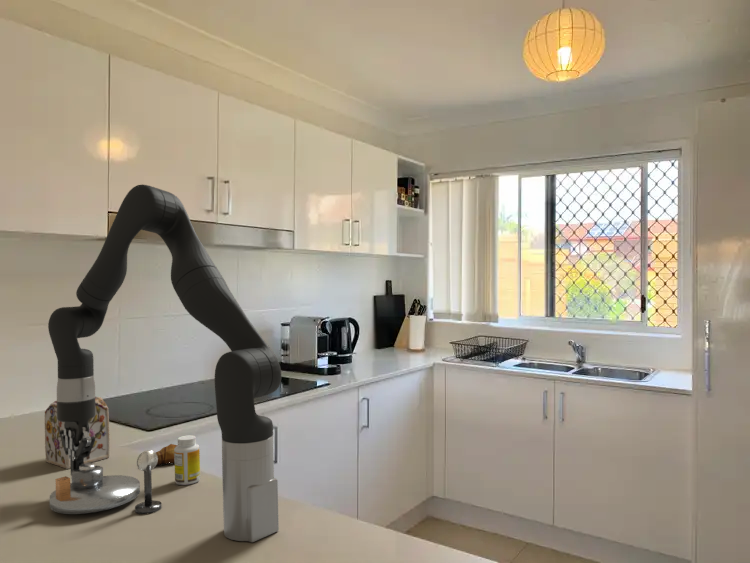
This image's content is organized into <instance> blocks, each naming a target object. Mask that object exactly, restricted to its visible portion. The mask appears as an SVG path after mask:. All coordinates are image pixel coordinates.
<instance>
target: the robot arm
mask: <svg viewBox="0 0 750 563" xmlns="http://www.w3.org/2000/svg"><path fill="white" fill-rule="evenodd" d="M141 231H146V232H150V233H154V234H156V235H158V236H159V237H160V238H161V239H162V240H163V242H164V243H165V245H166V247H167V249H168V250H169V253H170V255H171V257H172V258H171V259H172V260H171V268H170V281H171V284H172V287H173V290H174V292H175V294H176V295H177V297H178V299H179V301H180V302H181V303H182V304H181V305H182V306H183V307H184V309H185V310H186V311H187V313H189V315H190V316H191V317H192V318H194V319H195V320H196V321H197V322H199V323H200V324H202V325H203V326H204V327H206V329H208V330H209V331H211V332H212V333H214V334H215V335H216V336H218V337H219V338H220V339H221V340H222V341H223V342H224V343H225V344H226V345H227V347H228V348H229V350H230V351H228V352H225V353H223V354H222V355H221V356H219V359H218V360H217V362H216V366H215V370H214V392H215V393H214V394H215V403H216V404H215V406H216V418H217V423H218V426H219V428H220V431H221V432H220V433H221V461H222V462H221V464H222V466H221V467H222V468H221V469H222V470H221V471H222V475H221V476H222V507H223V508H222V510H223V511H222V512H223V515H222V516H223V535H224V536H225V537H226V538H227V539H229V540H232V541H237V542H238V541H239V542H249V543H254V542H256V541H260V540H262V539H263V538H265V537H268V536H270V535H272V534H274V533H276V532H279V529H280V528H279V527H280V526H279V494H278V493H279V490H278V489H279V487H278V486H279V485H278V484H279V483H278V482H279V481H278V479H277V478H276V477H275V467H274V464H275V463H274V462H275V461H274V459H275V457H274V424H273V421H272V419H271V418H270V417H267V416H264V415H259V414H258V413H257V411H256V407H255V406H256V405H255V399H257V398H262V397H264V396H265V397H266V396H268V395H271V394H273V393H275V392H276V391H277V390H278V389H279V387H280V386H281V383H282V369H281V365H280V363H279V359H278V358H277V356H276V355H275V353H274V351H273V350H272V349H271V347H270V346H269V345H268V343H267V342H266V341H265V339H264V338H263V337H262V336H261V334H260V333H259V332H258V330H257V329H256V328H255V326H254V325H253V324H252V322H251V321H250V320H249V318H248V317H247V315H246V314H245V312H244V311H243V309H242V307H241V306H240V304H239V303H238V301H237V299H236V298H235V296H234V295H233V293H232V292H231V290H230V287H229V286H228V284H227V282H226V281H225V279H224V277H223V275H222V273H221V272H220V270H219V269H218V268H217V266H216V264H215V263H214V261H213V259H212V258H211V257H210V255H209V253H208V251H207V250H206V247H205V246H204V245H203V243H202V242H201V240H200V238H199V236H198V234H197V233H196V231H195V228H194V226H193V224H192V222H191V219H190V217H189V215H188V212H187V209H186V208H185V206H184V204H183V202H182V201H181V199H180V198H179V197H178V196H177V195H175V194H173V193H172V192H170V191H166V190H163V189H161V188H158V187H154V186H151V185H147V184H137V185H135V186H133V187H132V188H131V189H130V190H129V191H128V192H127V194H126V195H125V197H124V198H123V200H122V202H121V204H120V207H119V208H118V210H117V213H116V214H115V217H114V220H113V222H112V225H111V227H110V228H109V231H108V233H107V236H106V237H105V240H104V243H103V245H102V248H101V249H100V252H99V254H98V255H97V258H96V259H95V261H94V263H93V264H92V266H91V267H90V269H89V270H88V272H87V273H86V274H85V277H84V278H83V279H82V281H81V282H80V284H79V285H78V287H77V290H76V292H75V294H76V298H77V300H78V301H79V302H80V303H81V304H80V305H79V306H63V307H59V308H57V309H55V310H54V311H53V312H52V313H51V314H50V317H49V320H48V326H47V328H48V334H49V337H50V340H51V344H52V347H53V350H54V353H55V355H56V356H55V357H56V360H57V381H56V382H57V383H56V384H57V385H56V401H57V420H58V421H60V422H65V423H64V430H60V431H59V434H60V438H61V441H62V444H63V447H64V451H65V454H66V455H68V457H69V459H71V460H70V462H71V468H70V473H71V472H72V471H73V470H75V469H78V468H79V466H80V465H83V464H84V458H85V457H88V456H89V454H90V452H91V449H92V447H93V444H94V442H95V437H94V436H92V437H90V436H89V433H90V429H89V424H88V420H89V419H90V418H93V417H94V416H95V396H96V385H95V383H96V382H95V375H94V374H95V373H94V371H95V370H94V366H95V365H94V353H93V351H91V350H90V349H86V348H81V346H80V343H79V341H78V339H81V338H88V337H91V336H93V335H95V334H96V333H97V332H98V331H99V330H100V328H102V326H103V323H104V320H105V317H106V315H107V312H108V308H109V304H110V302H111V301H112V300H113V298H114V297H115V295H116V294H117V292H118V291H119V290H120V288H121V287H122V285H123V283H124V281H125V280H126V279H125V278H126V277H127V272H128V253H129V248H130V245H131V243H132V241H133V240H134V238H136V236H137V235H138V234H139V232H141ZM70 476H71V477H72V475H71V474H70Z"/></svg>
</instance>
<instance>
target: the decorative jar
mask: <svg viewBox="0 0 750 563" xmlns="http://www.w3.org/2000/svg"><path fill="white" fill-rule="evenodd" d="M109 416H110V413H109V407H108V405H107V402H105V401H104V399H103V397H101V396H96V395H95V416H94V417H93V418H90V419H89V420H88V424H89V429H90V433H89V436H90V437H92V436H94V437H95V442H94V444H93V447H92V449H91V452H90V454H89V456H88V457H85V458H84V464H88V463H94V462H95V463H96V462H98V461H99V462H100V461H103V460H105V459H108V458H110V451H111V450H110V447H111V446H110V440H111V439H110V417H109ZM64 423H65V422H60V421H58V420H57V400H55V401H53V402H52V403H50V404H49V406H48V407H47V408H46V410H45V411H44V445H45V446H44V450H45V461H46V463H49V464H50V465H51V464H52V465H55V466H57V467H61V468H64V469H66V470H71V462H70V460H71V459H69V457H68V455H66V454H65V451H64V447H63V444H62V441H61V438H60V434H59V431H60V430H64Z"/></svg>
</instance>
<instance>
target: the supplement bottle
mask: <svg viewBox="0 0 750 563" xmlns="http://www.w3.org/2000/svg"><path fill="white" fill-rule="evenodd" d="M177 445H178V446H176V447H175V449H174V461H175V464H174V482H175V484H177V485H180V486H188V485H193V484H196V483H197V482H199V481H200V479H201V463H200V462H201V460H200V459H201V458H200V457H201V455H200V454H201V453H200V445H199V444H198V443H197V440H196V436H195V435H189V434H187V435H183V436H179V437H178V438H177Z"/></svg>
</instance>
